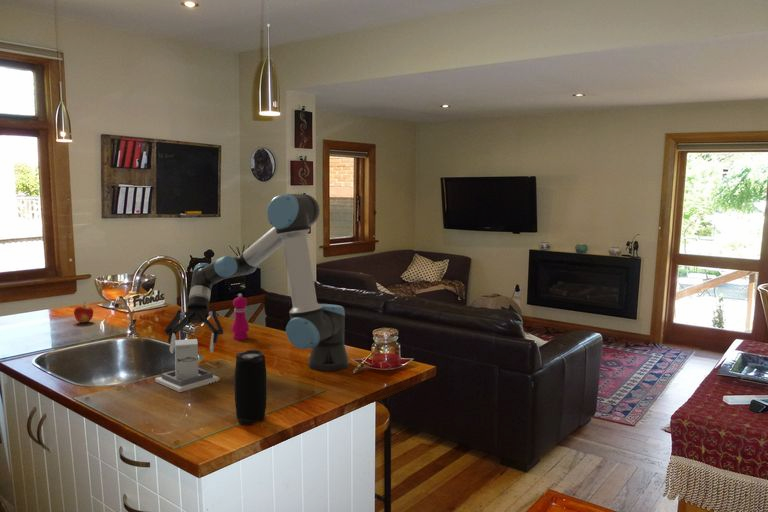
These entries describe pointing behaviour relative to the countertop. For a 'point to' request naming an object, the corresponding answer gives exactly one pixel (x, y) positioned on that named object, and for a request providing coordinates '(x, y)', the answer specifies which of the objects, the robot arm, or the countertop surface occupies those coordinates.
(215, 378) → the collar board
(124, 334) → the countertop surface
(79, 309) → the apple
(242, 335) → the pepper mill
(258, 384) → the portable speaker
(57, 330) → the countertop surface
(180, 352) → the supplement box
